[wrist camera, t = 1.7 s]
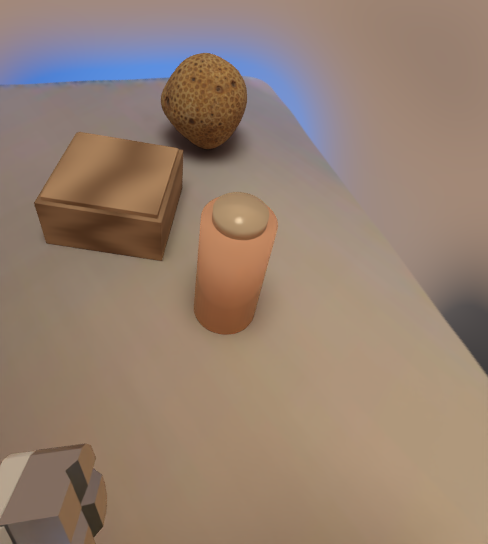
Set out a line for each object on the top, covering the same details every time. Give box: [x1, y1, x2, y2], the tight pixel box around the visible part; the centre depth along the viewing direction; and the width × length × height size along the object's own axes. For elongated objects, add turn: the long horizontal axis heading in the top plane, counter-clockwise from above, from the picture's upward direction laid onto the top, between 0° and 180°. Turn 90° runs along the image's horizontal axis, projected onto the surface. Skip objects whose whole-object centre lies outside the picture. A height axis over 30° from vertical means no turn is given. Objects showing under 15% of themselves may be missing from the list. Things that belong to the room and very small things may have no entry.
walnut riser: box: [34, 132, 183, 261], centre depth 39 cm, size 10×10×5 cm
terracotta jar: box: [194, 192, 278, 334], centre depth 32 cm, size 5×5×11 cm
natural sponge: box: [161, 53, 247, 149], centre depth 46 cm, size 9×9×10 cm
